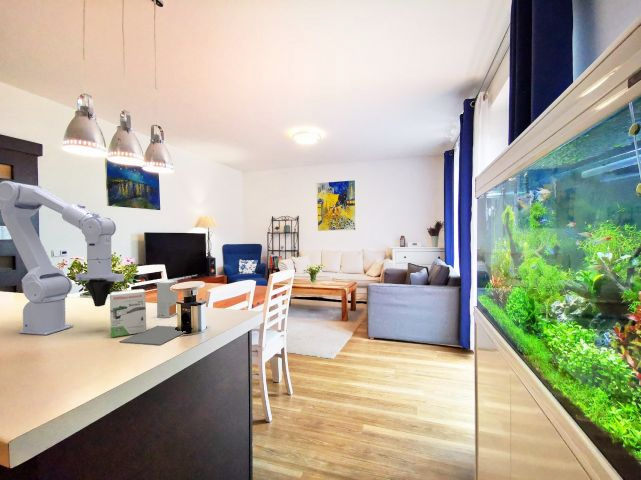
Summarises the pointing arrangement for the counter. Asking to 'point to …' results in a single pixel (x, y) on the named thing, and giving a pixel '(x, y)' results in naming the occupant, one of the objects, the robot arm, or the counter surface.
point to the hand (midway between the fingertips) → (100, 305)
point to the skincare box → (166, 299)
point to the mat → (154, 336)
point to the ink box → (127, 312)
